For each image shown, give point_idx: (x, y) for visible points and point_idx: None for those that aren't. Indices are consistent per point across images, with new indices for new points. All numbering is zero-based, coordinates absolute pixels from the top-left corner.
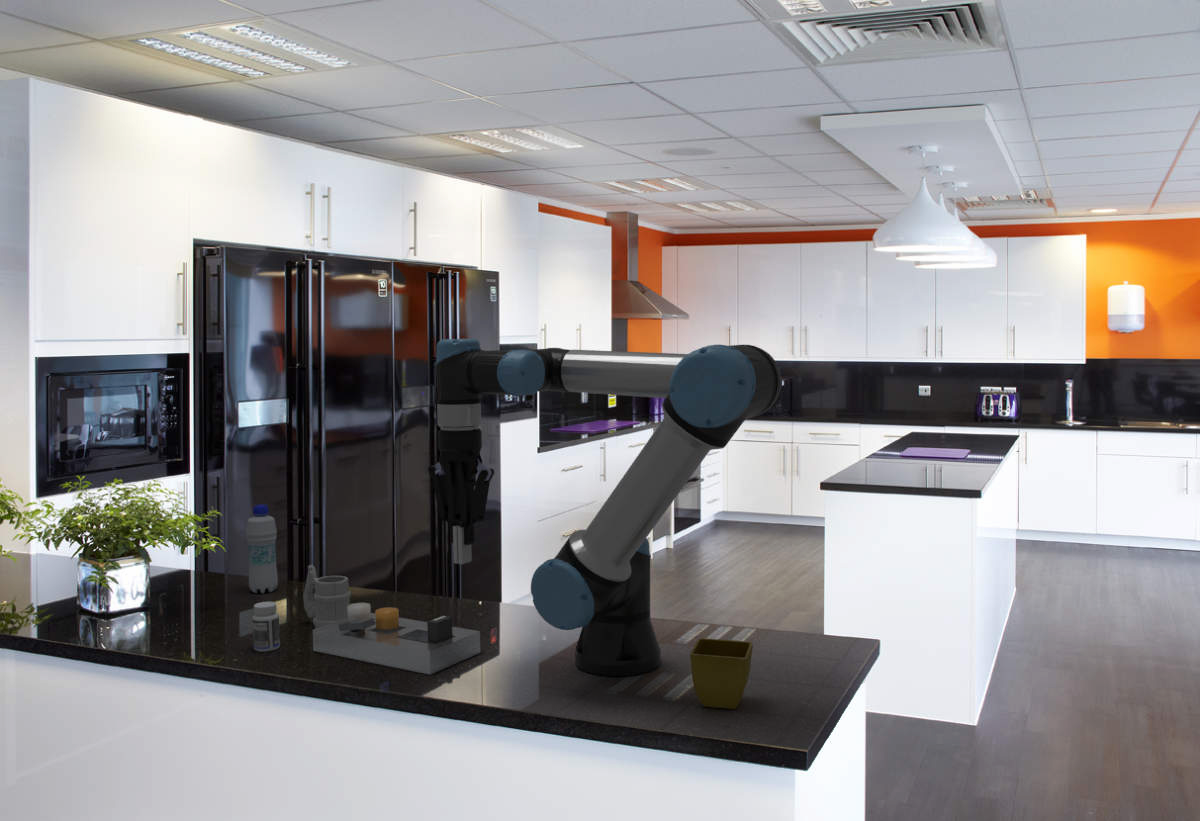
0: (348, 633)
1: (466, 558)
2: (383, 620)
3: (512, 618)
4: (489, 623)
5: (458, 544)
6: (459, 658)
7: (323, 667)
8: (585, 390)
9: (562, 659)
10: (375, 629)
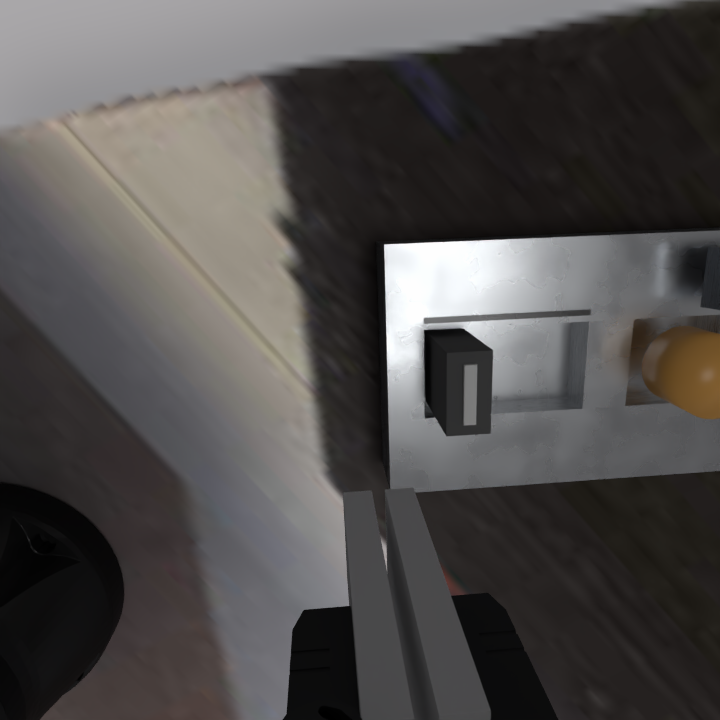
0: None
1: (346, 551)
2: (689, 336)
3: None
4: None
5: (385, 575)
6: (380, 376)
7: (708, 120)
8: None
9: (150, 535)
10: None
